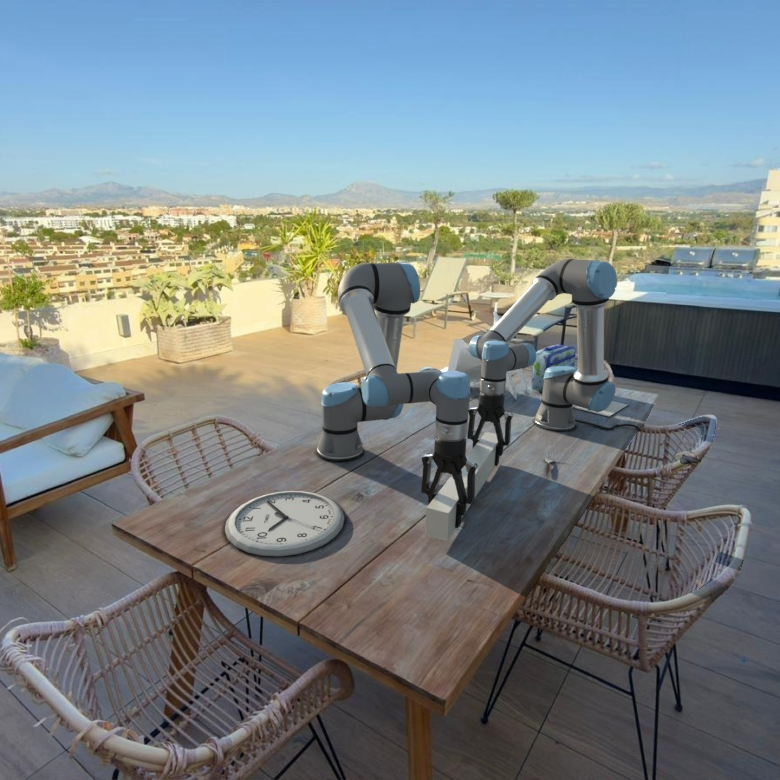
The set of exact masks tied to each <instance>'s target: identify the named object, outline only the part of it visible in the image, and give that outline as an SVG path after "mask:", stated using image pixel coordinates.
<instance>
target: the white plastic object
mask: <svg viewBox="0 0 780 780" xmlns="http://www.w3.org/2000/svg"><path fill="white" fill-rule="evenodd" d="M492 315H493V319H494V321H495V324H496V323H497V322H498V321H499V320H500V319H501V317H500V315H499V314H498V312H497V311H496V310H495V311H492ZM481 366H482V360H480V359H478V358H476V357H473V356H472V355H471V354H470V351H469V344H468V343H466V342H465V340H464V339H463V338H460V339H458V338H454V340H453V344H452V349H451V353H450V357H449V362H448V366H446V367H444V368H442V369H439V370H440V371H442V372H445V371H459V372H463V373H465V374H467V375H468V376H469V378H470V383H473V384H477V383H480V380H481ZM516 372H517V376H518V380H519V382H520V385H521V389H522V391H523V393H524V395H525V396H526V397H528V396H531V395H530V390H529V388H528V387H529V386H528V384H527V381H526V378H525V375H524V371H523V369H517V370H516ZM506 383H507V384H506V385H507V386H508V390H509V393H510V394H511V395H512V397H513V398H514V399H515V400H517V392H516V391H517V390H516V388H515V385H514V381H513V378H512V375H511V371H507V374H506Z"/></svg>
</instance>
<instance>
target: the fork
mask: <svg viewBox="0 0 780 780" xmlns="http://www.w3.org/2000/svg"><path fill="white" fill-rule="evenodd" d="M552 452H553V453H552ZM554 455H555V452H554V451H551V452H550V453H548V452H546V453H545V459H544V461H545V462H547V464H546V466H545V475H546V476H548V473H549V471H550V468H551V467H550V464H551V463H553V462H554V458H555V456H554Z"/></svg>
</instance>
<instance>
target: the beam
mask: <svg viewBox="0 0 780 780" xmlns="http://www.w3.org/2000/svg"><path fill="white" fill-rule="evenodd" d="M478 440H479V441H478V443H477V444H476V445H475V446H474V448H473V447H472V448H473V449H472V448H471V450H470V451H469V453H468V454H467V455H466V458H467V461H468V462H470V463H472V464H473V463H476V464H477V465H478V467H477V469H476V471H475V498H474V500H475V499H476V497H477V495H478V494H479V493H480V491H481V490H482V488H483V486H484V484H485V483H486V481H487V480H488V478H489V477H490V474H491V473H492V472H493V470H494V469H495V467H496V466H495V454H496V446H497V444H498V440H497V435H496V433H493V432H488V431H486V432H484V434H483V435H482V436H480V438H479V439H478ZM501 458H502V456H499V460H500V459H501ZM461 470H462V478H463V482H464V487H465V491H466V495H467V475H468V472H467V470H466V466H464V467H463V468H462V469H461ZM436 494H437V495H436V496H435V497H434V499H433V500H432V501H431V502H430V504H429V505H428V504H427V505H426V508H425V512H426V513H425V529H424V531H425V532H424V536H425V537H427V538H431V539H435V540H439V541H442V542H445V543H448V541H449V540H450V539H451V537H452V535H453V534H454V532H455V530H456V529H457V528H455V521H456V504H457V503H458V501H459V498H458V494H457V489H456V485H455V481H454V479H453V476H452V475H450V477H449V478H448V479H447V481H446V482H445V483H444V485H443V486H442V487H441V488H440V490H439V491H438V492H437V493H436ZM471 505H472V503H471V504H466V512H465V514H466V513H467V511H468V510H469V508H470V507H471ZM463 518H464V516H462V519H463Z"/></svg>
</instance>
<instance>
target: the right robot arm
mask: <svg viewBox="0 0 780 780" xmlns="http://www.w3.org/2000/svg"><path fill="white" fill-rule="evenodd" d="M617 287H618V273H617V271H616V269H615V267H614V265H612V264H611V263H610V262H607V261H602V260H598V259H577V258H564V259H561V260H559V261H556V262H554V263H552V264H550V265H549V266H547V267H546V268H545V269H543V270H542V271H541V272H540V273H539V274H537V276H535V278H534V279H532V281H531V286H529V288H528V289H527V290H526V291H525V292H524V293H523V294H522V295H521V297H519V298H518V300H516V302H515V303H514V304H513V305H512V306H511V307H510V308H509V309H508V310H507V311H506V312H505V313H504V314H503V315H502V316H501V317H500V320H499V321H498V322H497V323H496V322H495V324H494V325H493V326H492V327H490V329H489V330H488V331H487V332H486V333H485V334H484V335H475V336H473V337H472V338H471V339H470V341H469V344H468V346H469V351H470V354H471V355H472V356H473V357H476V358H478V359H480V360H482V366H481V380H480V382H479V391H480V392H479V396H478V398H479V399H478V406H477V407H474V406H471V407H469V410H468V418H469V419H468V425H467V436H466V439H468V440H471V442H472V447H471V450H472V449H473V448H474V446H475V445H476V444H477V443H478V441H479V440H480V437H481V433H482V430H483V428H484V426H485V423H487V422H489V423H491V424H492V423H493V427H494V430H495V434H496V435H497V440H498V444H497V446H496V454H495V467H498V466H499V463H500V459H499V456H501V457H502V455H503V454H504V449H505V448H504V447H505V446H507V447H508V446H509V445H510V443H511V437H512V436H511V434H512V433H511V432H512V420H513V417H514V414H513V413H512V412H511V413H509V412H508V411H507V412H506V409H505V397H506V396H505V393H506V385H507V384H506V383H507V380H506V374H507V371H510V372H511V371H517V369H522V370H523V369H526V368H529V367H531V366H533V364H534V363H535V361H536V352H537V351H536V349H535V347H534V346H533V345H532V344H530V343H523V342H521V343H513V342H511V341H512V340H513V339H514V338H515V337H516V336H517V335H518V334H519V332H520V331H522V329H524V327H525V326H526V325H527V324H528V323H529V322H530V321H531V320H532V319H533V317H534V316H535V315H536V314H537V313H538V312H539V311H540V310H541V309H542V308H543V307H544V306H545V305H546V304H547V302H549V301H553V300H554V299H556V297H558V296H559V295H562V294H566V295H571V303H572V305H574V306H575V307H576V328H577V329H576V337H577V339H576V341H577V342H576V343H577V346H576V347H577V367H576V366H574V367H571V366H555V367H549V368H547V369H546V370H545V375H544V378H543V379H544V381H543V391H541V393H542V394H541V402H540V405H539V407H538V410H537V411H536V413H535V417H534V424H535V425H536V426H537V427H539V428H542V429H544V430H549V431H556V432H567V431H572V430H574V429H575V428H576V423H577V424H584V425H588V426H592V427H596V428H599V429H602V430H606V431H607V430H608V431H612V430H614V429H615V428H620V427H631V428H634V429H636V430H638V431H642V429H641V427H639V426H638V425H636V424H632V423H617V424H613V425H612V426H604V425H601V424H597V423H593V422H589V421H584V420H580V419H576V418H575V417H576V416H575V413H574V407H573V406H575V407H576V406H579V407H582V408H585V409H588V410H592V411H595V412H601V411H603V410H605V409H606V408H607V407H608V406H609V405H610V403H611V402H612V401H614V397H615V394H616V384H615V383H614V382H613V381H610V380H609V372H608V371H607V370H605V366H604V365H605V362H604V361H605V356H604V355H605V306H606V304H607V303H608V302H609V301H610V298H612V296H613V295H614V294H615V292H616V288H617ZM477 414H478V415H479V416H480V420H479V423H478V425H477V428H476V430H475V424H476V423H475V422H476V415H477ZM502 417H504V420H505V424H504V435H503V430H502V426H501V419H502ZM474 430H475V433H474Z"/></svg>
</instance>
